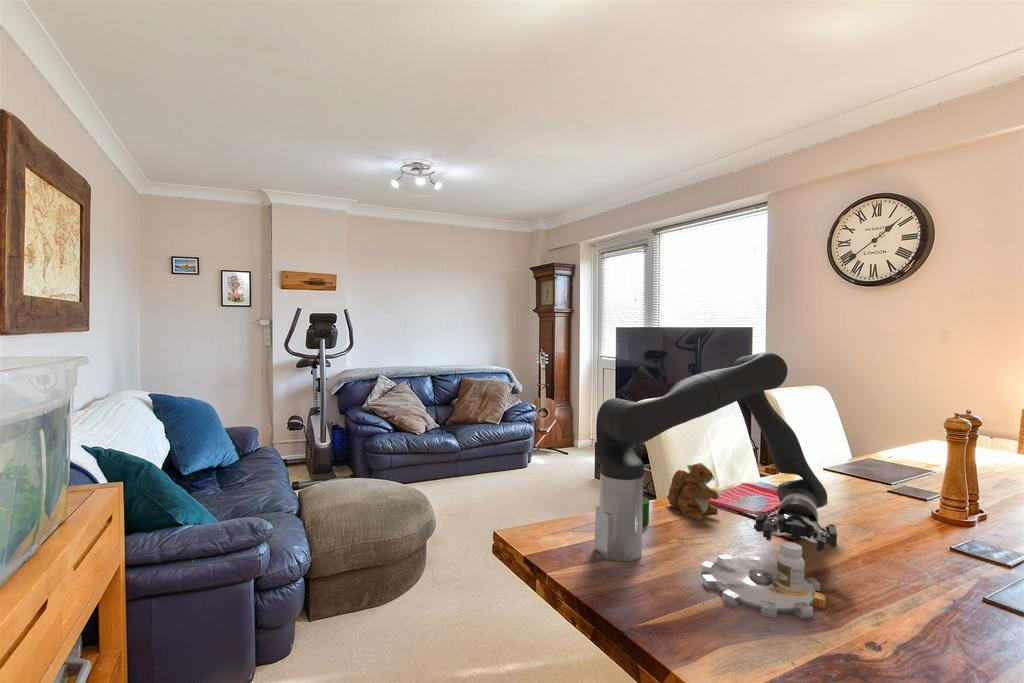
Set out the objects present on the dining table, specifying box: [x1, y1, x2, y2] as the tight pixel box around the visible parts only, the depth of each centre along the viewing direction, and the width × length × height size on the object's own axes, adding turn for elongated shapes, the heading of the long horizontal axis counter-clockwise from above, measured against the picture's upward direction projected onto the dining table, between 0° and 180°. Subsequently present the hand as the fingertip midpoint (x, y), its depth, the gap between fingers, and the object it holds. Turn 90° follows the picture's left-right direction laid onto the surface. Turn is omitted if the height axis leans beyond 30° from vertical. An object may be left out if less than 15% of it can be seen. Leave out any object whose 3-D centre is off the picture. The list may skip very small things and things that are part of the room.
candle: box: [642, 496, 650, 527], centre depth 130 cm, size 8×8×10 cm
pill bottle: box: [776, 541, 806, 592], centre depth 94 cm, size 4×4×8 cm
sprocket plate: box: [700, 554, 827, 619], centre depth 97 cm, size 21×21×2 cm
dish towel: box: [708, 482, 781, 515], centre depth 145 cm, size 17×24×3 cm
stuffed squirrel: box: [665, 462, 719, 521], centre depth 138 cm, size 10×14×13 cm
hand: (793, 540), depth 98 cm, fingers open, 8 cm apart
